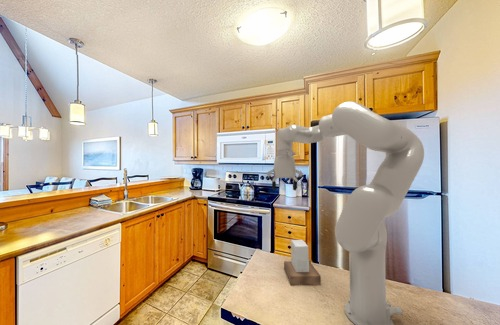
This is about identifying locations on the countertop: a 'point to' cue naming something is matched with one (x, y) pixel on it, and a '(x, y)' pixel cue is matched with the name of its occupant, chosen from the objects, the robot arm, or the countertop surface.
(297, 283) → the walnut block
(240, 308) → the countertop surface
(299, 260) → the small box
